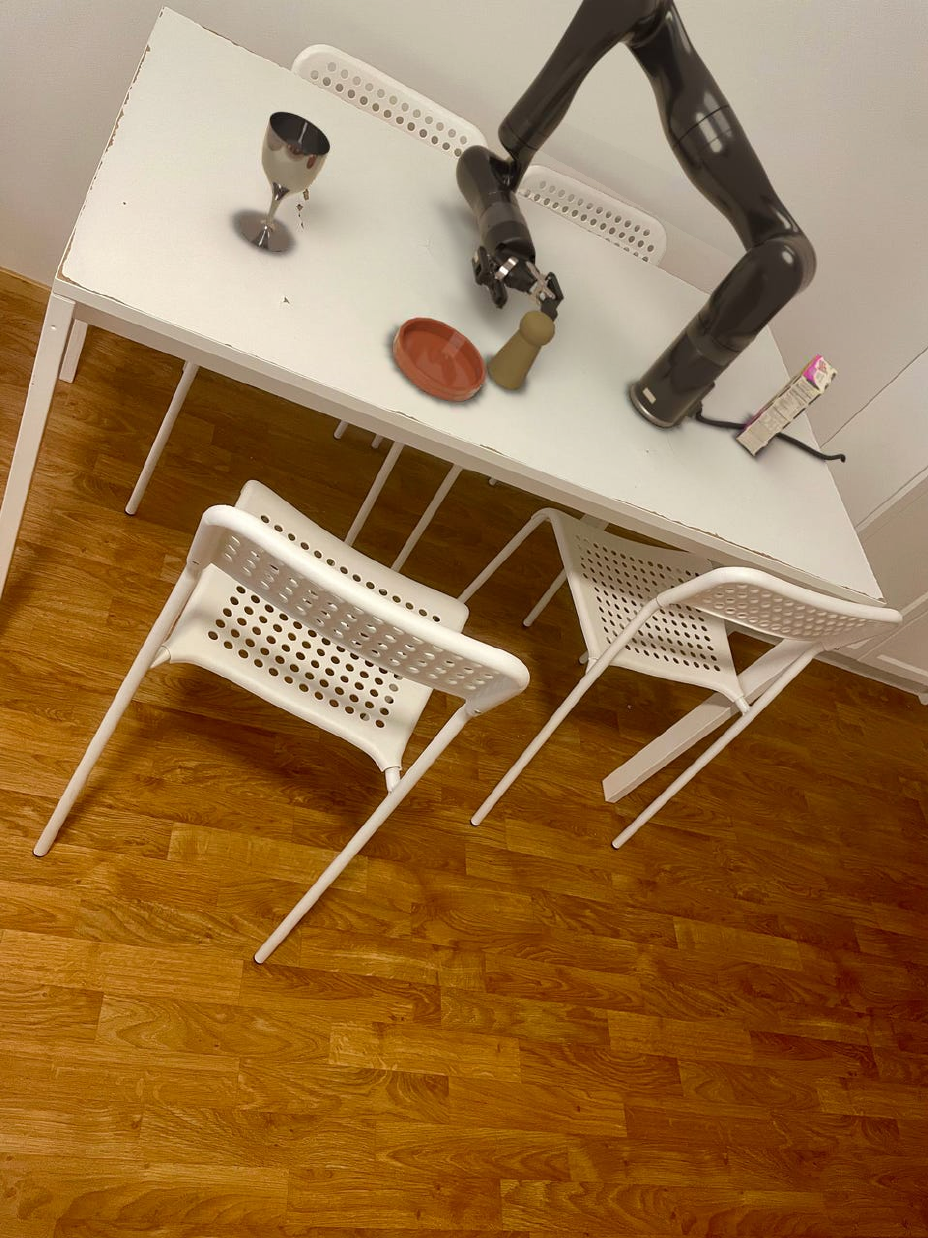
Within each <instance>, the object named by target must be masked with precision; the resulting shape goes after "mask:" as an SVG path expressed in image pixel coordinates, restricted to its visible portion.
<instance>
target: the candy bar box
mask: <svg viewBox="0 0 928 1238" xmlns="http://www.w3.org/2000/svg"><path fill="white" fill-rule="evenodd" d="M838 373H839V372H838V371H837V369H836V368H835V367H833V366H832V365H831V363H830V362H828V361H827V360H826V359H825V357H823V356H822V355H821V354H819V353H817V354H816V355H815V356H814V357H813V358H812V359H811V360H810V361H809V362H808V363H807V364H806V365H805V366H804V367H802V369H801V370H800V371H799V372H798V373H797V374H796V375H795V376H794V377H792V378H791V379H790V380H789V381H788V382H787V383H786V384H785V385H784V386H783V387H782V388H781V389H780V390H779V391H778V392H777V393H776V394H775V395H774V396H773V397H772V398H771V399H770V400H769V401H768V402H767V403H766V404H765V405H764V406H763V407H762V408H760V409H759V411H758V412H756V414H755V415H753V416H752V418H751V419H750V420H749V422H747V423H746V424H747V425H746V426H745V428H744V429H741V431H740V432H739V434H738V435H737V436H736V437H735V439H736V441H738V443H739V444H740V445H741V446H742V447H743V448H744V449H746V450H747V451H748V452H749V453H750V454H751V455H752V456H753V457H755V456H756V455H757V454H759V453H760V451H762V450H763V449H764V448H765V447H766V446H767V445H768V444H769V443H770V442H772V440H774V439H775V438H776V437H777V435H778V434H779V433H780V432H781V433H782V432H783V430H785V429H786V428H787V427H788V426H789V425H790V424H791V423H792V422H793V421H795V419H796V418H798V416H800V415H801V414H802V413H803V412H804V411H806V409H807V408H809V406H811V405H812V403H814V402H815V401H816V400H817V399H818V398H819V397H820V396H821V395H823V394H824V392H825V391H826V390H827V389H828V387H829V386H830V384H831V383H832V382H833V380H834V379H835V378H836V376H837V374H838Z"/></svg>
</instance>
